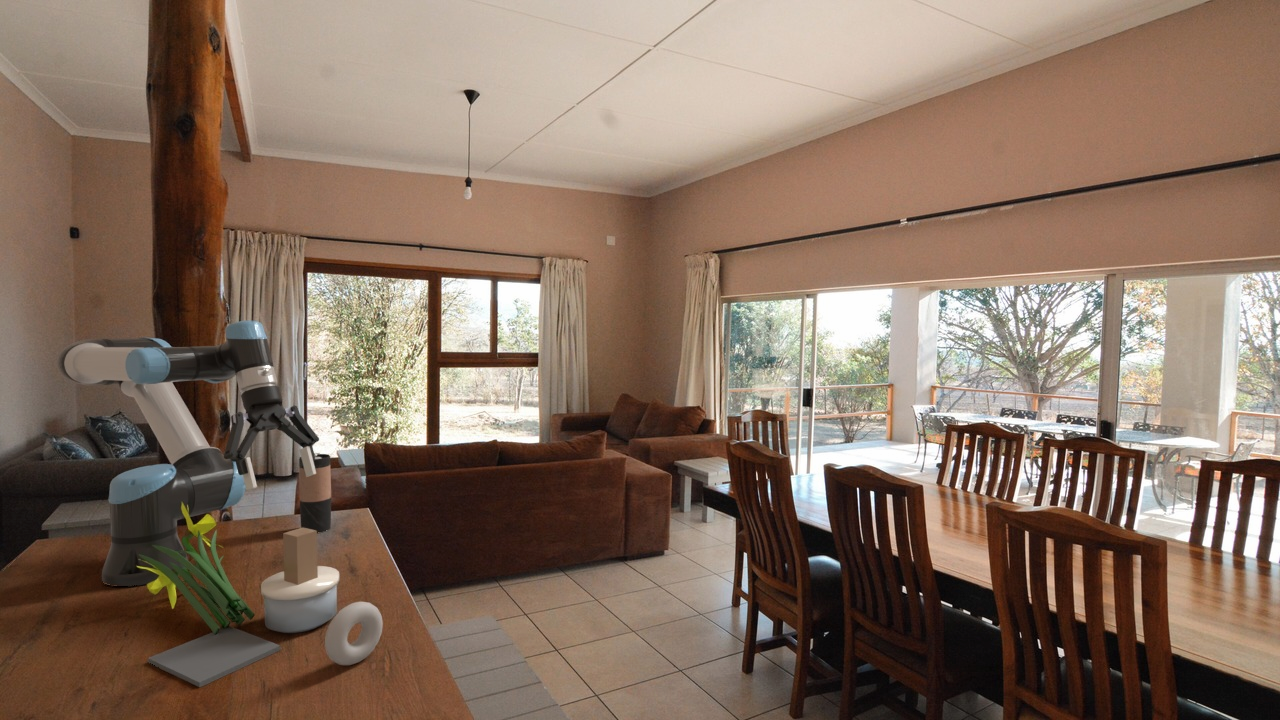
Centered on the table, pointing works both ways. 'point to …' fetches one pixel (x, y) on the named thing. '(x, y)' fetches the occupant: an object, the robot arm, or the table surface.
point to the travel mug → (316, 495)
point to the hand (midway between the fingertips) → (282, 482)
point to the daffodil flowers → (200, 578)
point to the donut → (342, 625)
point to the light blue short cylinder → (300, 612)
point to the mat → (213, 655)
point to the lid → (300, 569)
